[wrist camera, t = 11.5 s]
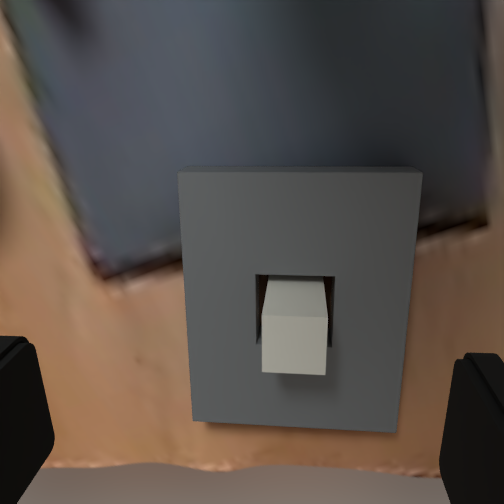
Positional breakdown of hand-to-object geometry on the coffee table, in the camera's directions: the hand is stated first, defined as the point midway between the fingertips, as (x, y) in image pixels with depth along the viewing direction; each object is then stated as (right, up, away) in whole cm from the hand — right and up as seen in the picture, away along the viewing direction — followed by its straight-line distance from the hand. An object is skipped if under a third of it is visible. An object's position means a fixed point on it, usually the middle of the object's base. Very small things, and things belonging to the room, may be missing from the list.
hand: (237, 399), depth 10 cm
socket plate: (+4, 0, +26) cm, 26 cm away
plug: (+4, 0, +26) cm, 26 cm away
